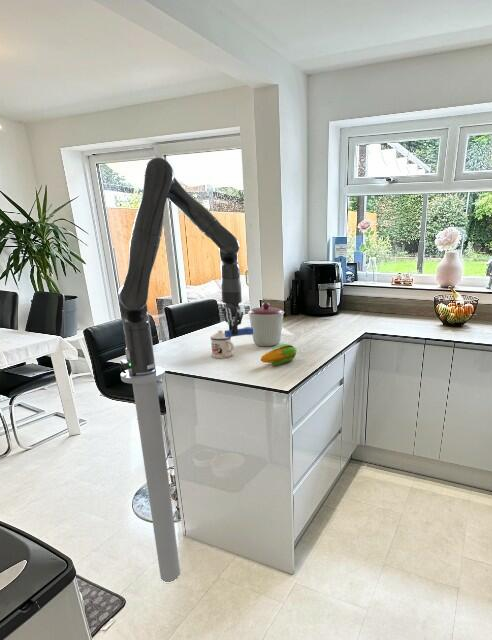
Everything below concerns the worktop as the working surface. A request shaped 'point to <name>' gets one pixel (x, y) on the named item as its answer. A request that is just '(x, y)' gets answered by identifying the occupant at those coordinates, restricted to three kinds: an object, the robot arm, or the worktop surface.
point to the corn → (279, 355)
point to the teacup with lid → (221, 345)
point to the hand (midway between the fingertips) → (233, 334)
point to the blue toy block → (240, 332)
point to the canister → (266, 325)
